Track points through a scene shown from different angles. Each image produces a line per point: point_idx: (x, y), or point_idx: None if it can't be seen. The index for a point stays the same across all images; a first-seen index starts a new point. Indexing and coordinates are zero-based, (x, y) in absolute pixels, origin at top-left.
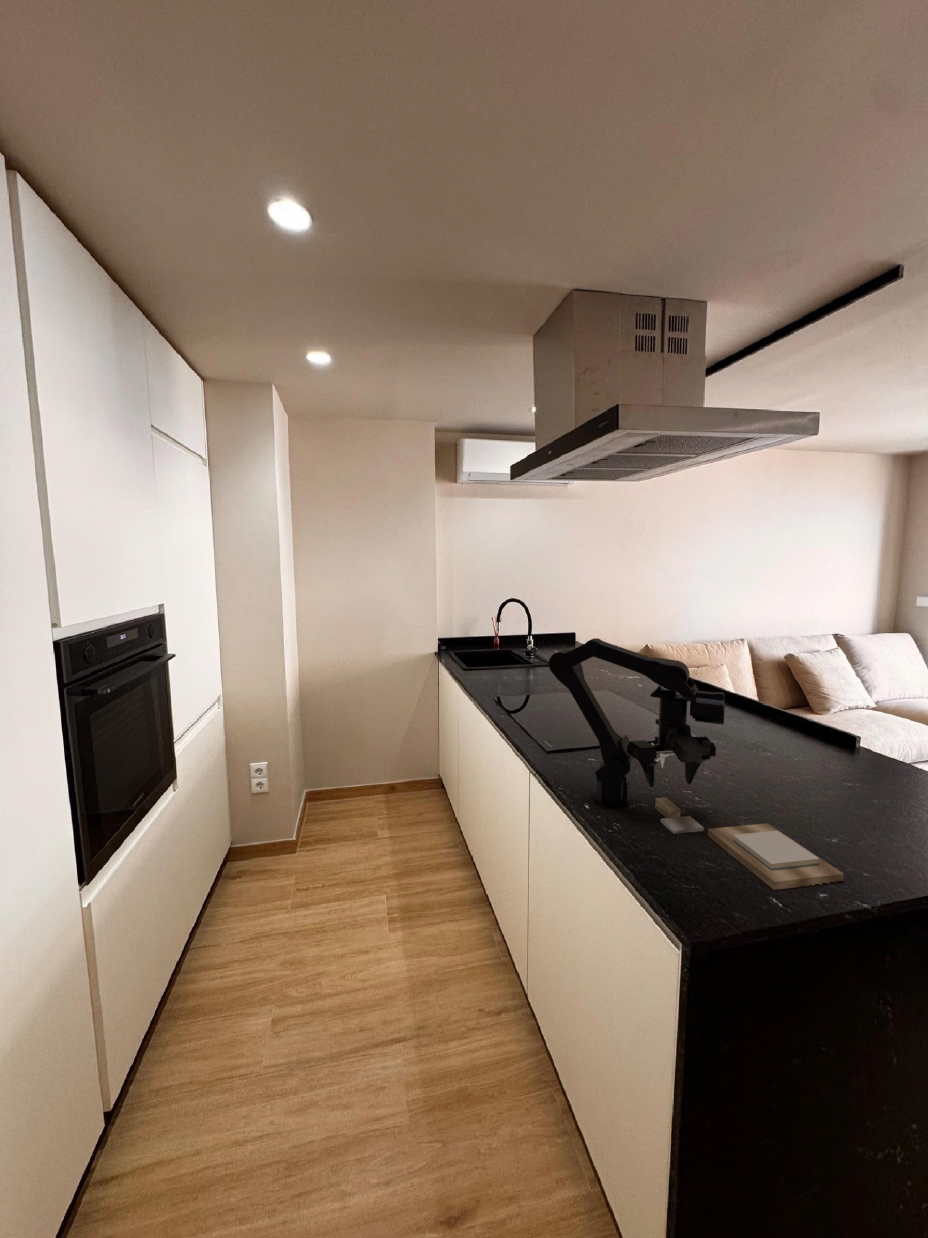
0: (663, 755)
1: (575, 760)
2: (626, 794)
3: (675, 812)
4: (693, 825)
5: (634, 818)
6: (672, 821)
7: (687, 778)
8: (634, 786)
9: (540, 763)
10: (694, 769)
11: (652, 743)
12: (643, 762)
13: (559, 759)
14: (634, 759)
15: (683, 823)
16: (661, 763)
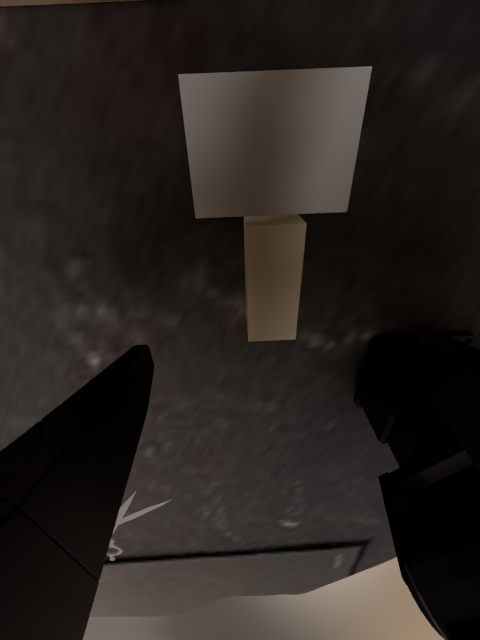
0: None
1: (330, 522)
2: (377, 378)
3: (274, 220)
4: (226, 109)
5: (424, 252)
6: (310, 174)
7: (143, 385)
8: (265, 431)
9: None
10: (54, 440)
11: (112, 559)
12: None
13: (362, 525)
14: (444, 557)
15: (267, 144)
16: (126, 508)
